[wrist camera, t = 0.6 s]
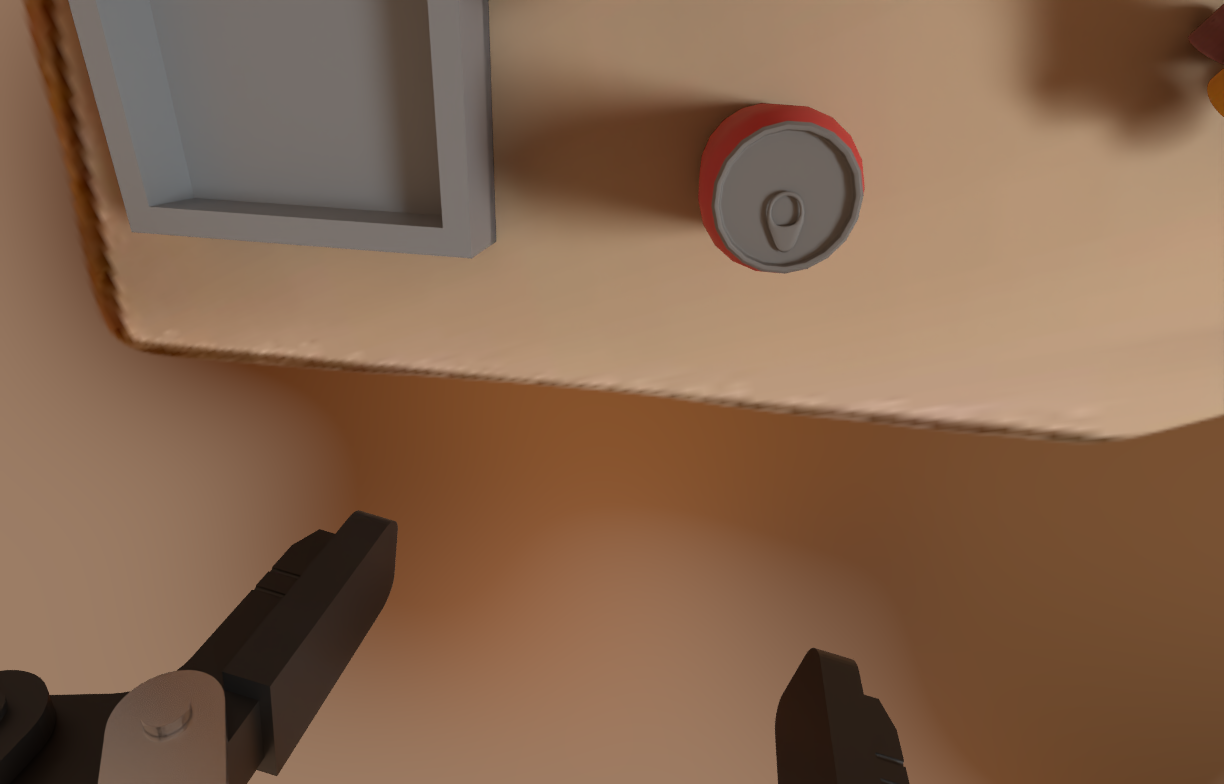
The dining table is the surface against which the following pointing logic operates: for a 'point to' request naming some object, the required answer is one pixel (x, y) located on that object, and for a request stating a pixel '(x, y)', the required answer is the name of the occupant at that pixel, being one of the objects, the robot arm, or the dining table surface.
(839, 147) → the beer can
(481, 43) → the box
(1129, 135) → the dining table surface
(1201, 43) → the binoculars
